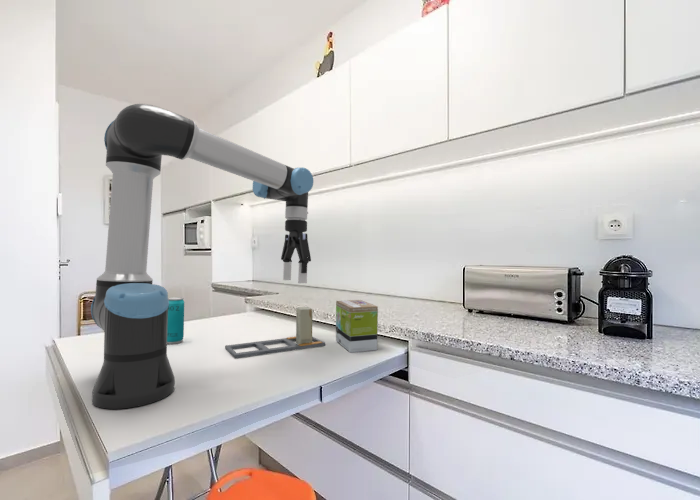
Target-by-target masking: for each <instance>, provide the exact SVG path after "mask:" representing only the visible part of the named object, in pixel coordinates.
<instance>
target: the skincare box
mask: <svg viewBox="0 0 700 500" xmlns="http://www.w3.org/2000/svg"><path fill="white" fill-rule="evenodd" d="M313 310H314V309H313V308H311V307H309V306H299V307H298V306H297V307H296V310H295V311H296V312H295V313H296V314H295V315H296V318H295V319H296V322H295V327H296V328H295V330H296V331H295V336H296V341H295V343H296V344H303V343H310V342H313V341H312V337H313Z"/></svg>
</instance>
